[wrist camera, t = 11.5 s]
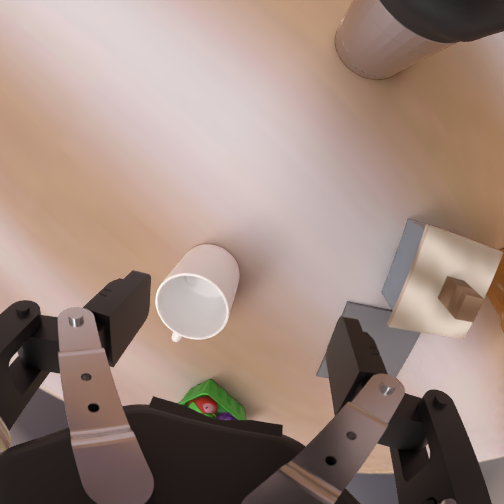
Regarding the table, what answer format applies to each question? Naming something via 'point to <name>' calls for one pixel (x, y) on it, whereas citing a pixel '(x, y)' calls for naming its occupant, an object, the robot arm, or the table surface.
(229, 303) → the cup
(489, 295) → the flower pot
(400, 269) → the blue gray open box
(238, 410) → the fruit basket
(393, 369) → the mat
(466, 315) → the lid
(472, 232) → the table surface
